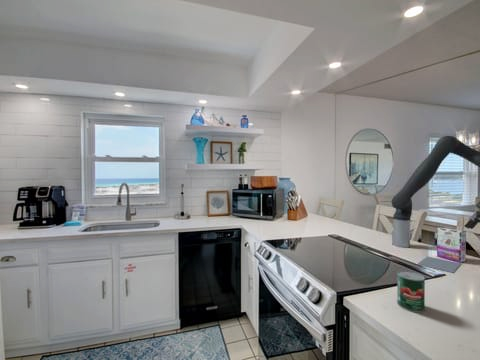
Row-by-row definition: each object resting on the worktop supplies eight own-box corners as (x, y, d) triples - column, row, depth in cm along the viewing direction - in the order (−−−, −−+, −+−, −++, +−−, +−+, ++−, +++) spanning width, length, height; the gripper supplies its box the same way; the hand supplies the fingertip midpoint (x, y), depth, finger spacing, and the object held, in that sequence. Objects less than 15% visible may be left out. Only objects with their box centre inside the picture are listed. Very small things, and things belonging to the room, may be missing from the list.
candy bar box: (466, 261, 126) (466, 231, 126) (460, 263, 124) (460, 231, 124) (442, 255, 137) (442, 226, 136) (436, 256, 135) (436, 227, 134)
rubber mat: (417, 264, 123) (417, 263, 123) (427, 256, 134) (427, 256, 134) (453, 273, 112) (453, 272, 112) (460, 264, 123) (460, 263, 123)
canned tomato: (412, 300, 88) (413, 270, 87) (430, 312, 80) (431, 279, 79) (391, 300, 87) (392, 270, 87) (407, 312, 79) (408, 280, 79)
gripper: (478, 199, 129) (457, 223, 133) (485, 197, 118) (462, 223, 122) (495, 208, 125) (473, 232, 129) (504, 206, 114) (479, 232, 117)
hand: (467, 227), depth 125 cm, fingers open, 8 cm apart
